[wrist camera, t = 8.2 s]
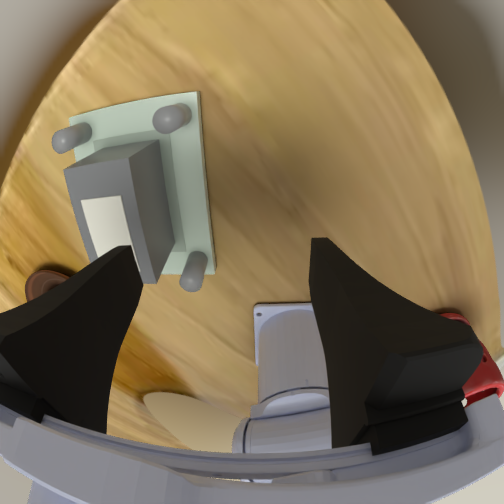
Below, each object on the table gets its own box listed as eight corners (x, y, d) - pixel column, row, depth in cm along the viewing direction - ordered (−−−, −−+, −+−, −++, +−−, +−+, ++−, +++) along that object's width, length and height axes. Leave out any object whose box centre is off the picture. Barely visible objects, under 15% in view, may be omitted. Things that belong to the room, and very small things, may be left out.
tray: (216, 267, 24) (209, 298, 21) (111, 267, 24) (94, 294, 21) (199, 91, 16) (184, 92, 13) (75, 115, 17) (44, 125, 13)
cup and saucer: (41, 241, 23) (7, 277, 18) (131, 306, 27) (111, 352, 22) (28, 302, 28) (6, 334, 23) (100, 351, 32) (84, 388, 27)
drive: (175, 242, 21) (156, 284, 17) (124, 244, 22) (97, 283, 17) (158, 139, 17) (127, 158, 13) (102, 148, 17) (62, 170, 13)
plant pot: (462, 282, 25) (515, 365, 15) (467, 339, 30) (498, 406, 20) (363, 338, 29) (389, 435, 19) (389, 381, 34) (409, 453, 24)
